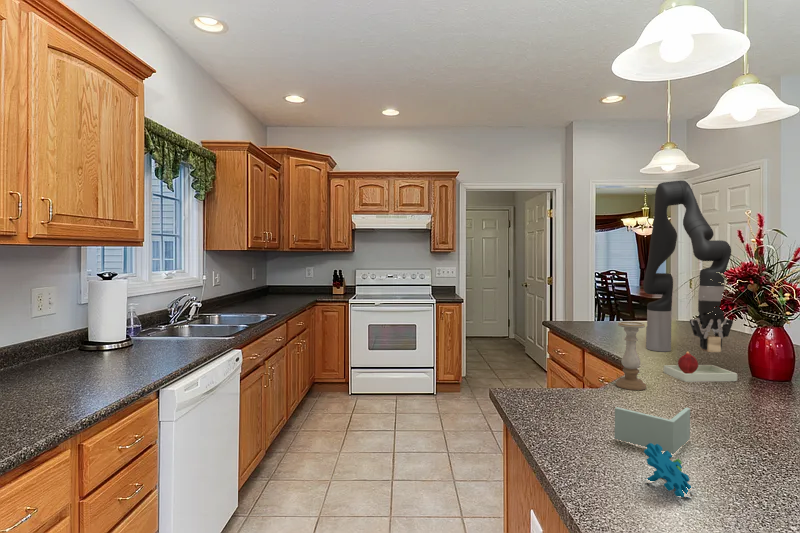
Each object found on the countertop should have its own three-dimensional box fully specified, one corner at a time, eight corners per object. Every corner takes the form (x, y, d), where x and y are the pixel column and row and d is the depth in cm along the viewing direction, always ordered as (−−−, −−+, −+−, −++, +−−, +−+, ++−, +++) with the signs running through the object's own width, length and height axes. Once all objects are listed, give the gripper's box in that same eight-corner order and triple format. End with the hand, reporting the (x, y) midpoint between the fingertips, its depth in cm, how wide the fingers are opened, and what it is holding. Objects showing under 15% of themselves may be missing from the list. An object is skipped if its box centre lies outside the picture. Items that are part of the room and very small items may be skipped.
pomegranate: (701, 377, 153) (702, 353, 153) (684, 377, 153) (685, 353, 153) (690, 372, 159) (691, 349, 159) (674, 372, 159) (674, 349, 159)
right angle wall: (689, 440, 104) (690, 408, 104) (673, 457, 96) (673, 422, 96) (634, 426, 113) (634, 396, 113) (614, 440, 105) (614, 408, 104)
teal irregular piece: (682, 501, 76) (641, 444, 82) (654, 515, 79) (616, 460, 85) (705, 488, 83) (666, 437, 89) (678, 502, 86) (642, 451, 92)
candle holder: (624, 390, 141) (625, 325, 140) (610, 382, 150) (610, 321, 149) (652, 390, 141) (652, 325, 141) (636, 382, 150) (637, 320, 150)
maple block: (700, 349, 158) (701, 335, 158) (712, 349, 158) (712, 335, 158) (708, 352, 154) (709, 337, 154) (720, 352, 154) (720, 337, 154)
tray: (663, 372, 162) (663, 365, 162) (712, 371, 162) (712, 364, 162) (684, 381, 150) (684, 374, 150) (737, 381, 151) (737, 373, 151)
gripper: (724, 297, 159) (723, 346, 160) (683, 298, 159) (683, 347, 160) (740, 300, 152) (739, 351, 152) (698, 300, 152) (697, 351, 152)
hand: (710, 348), depth 156 cm, fingers closed on maple block, 4 cm apart
